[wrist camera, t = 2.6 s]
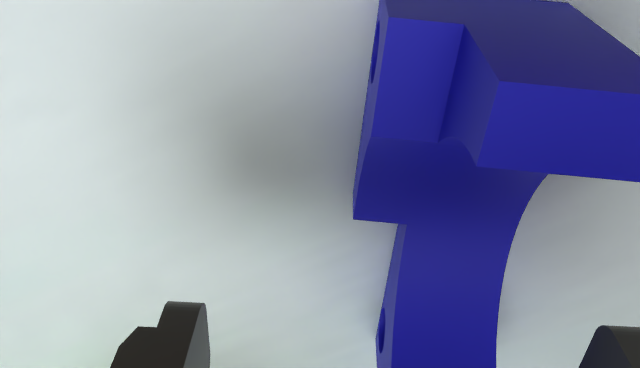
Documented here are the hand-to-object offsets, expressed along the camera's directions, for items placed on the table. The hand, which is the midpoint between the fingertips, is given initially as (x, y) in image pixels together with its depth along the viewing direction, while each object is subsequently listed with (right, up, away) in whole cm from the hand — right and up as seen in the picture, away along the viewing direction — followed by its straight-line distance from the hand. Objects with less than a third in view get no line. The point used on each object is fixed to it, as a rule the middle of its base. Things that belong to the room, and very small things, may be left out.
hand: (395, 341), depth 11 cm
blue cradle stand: (+2, +3, +5) cm, 6 cm away
